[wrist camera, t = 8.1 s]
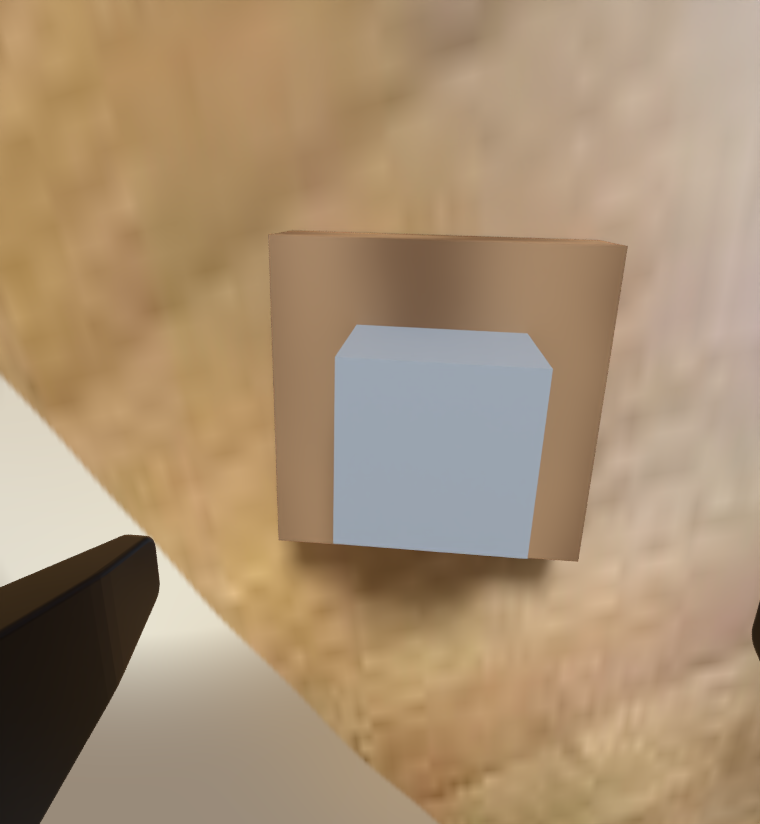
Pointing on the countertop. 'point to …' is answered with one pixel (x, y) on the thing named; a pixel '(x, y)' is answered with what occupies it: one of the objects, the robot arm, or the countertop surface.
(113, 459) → the countertop surface
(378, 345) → the blue-grey squarish block
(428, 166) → the countertop surface
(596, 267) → the base block
